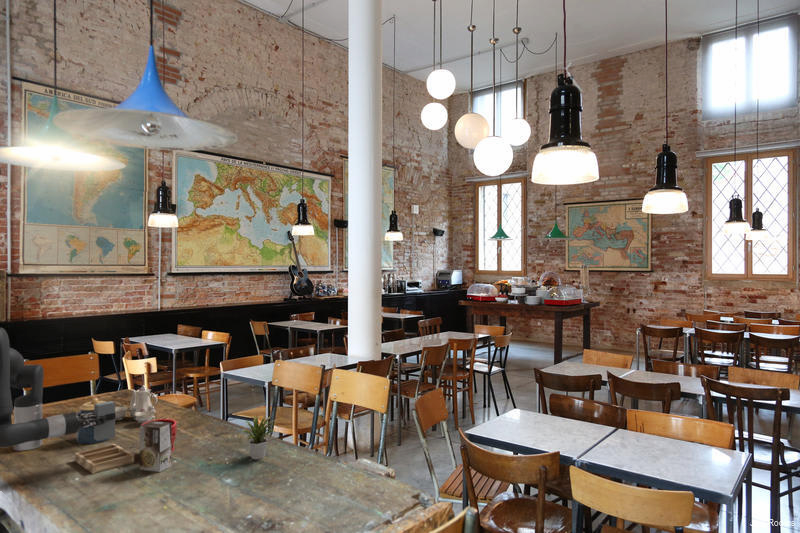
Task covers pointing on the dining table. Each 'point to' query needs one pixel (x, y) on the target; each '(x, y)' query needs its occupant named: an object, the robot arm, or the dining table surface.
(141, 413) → the chinaware
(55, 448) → the dining table surface
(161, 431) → the coffee box
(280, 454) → the dining table surface
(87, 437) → the canister
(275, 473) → the dining table surface
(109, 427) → the gray rectangular block
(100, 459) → the tray
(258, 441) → the house plant
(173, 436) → the plant pot
